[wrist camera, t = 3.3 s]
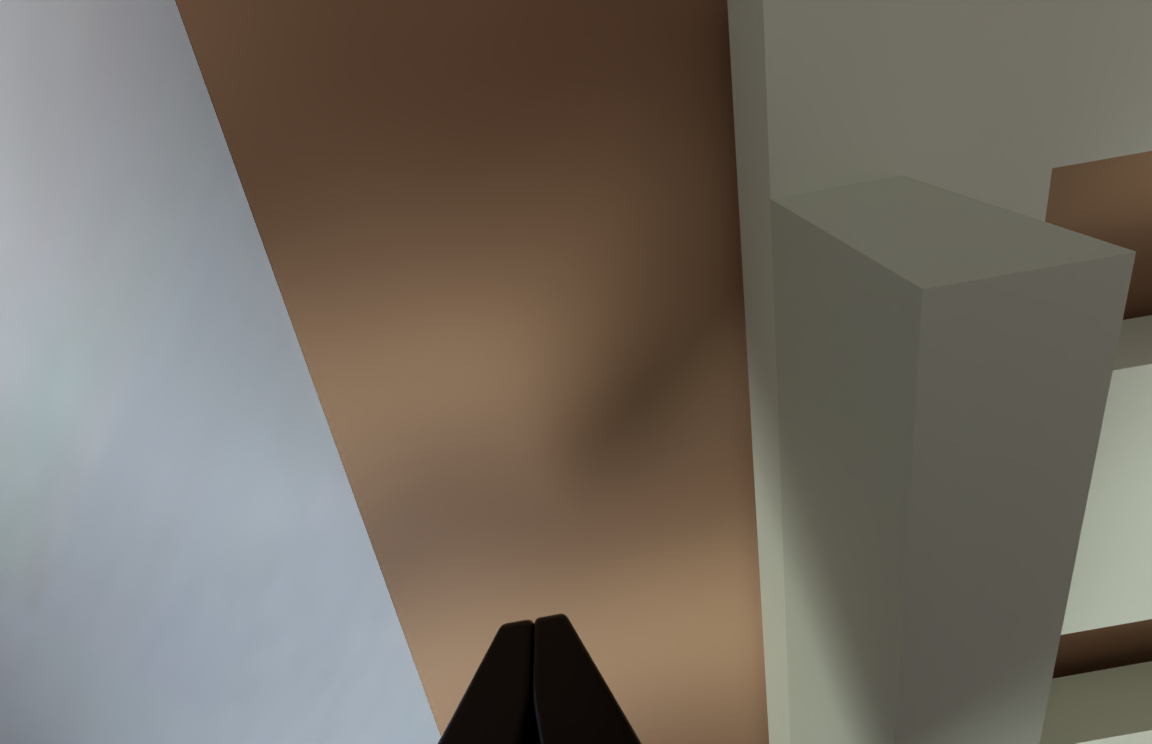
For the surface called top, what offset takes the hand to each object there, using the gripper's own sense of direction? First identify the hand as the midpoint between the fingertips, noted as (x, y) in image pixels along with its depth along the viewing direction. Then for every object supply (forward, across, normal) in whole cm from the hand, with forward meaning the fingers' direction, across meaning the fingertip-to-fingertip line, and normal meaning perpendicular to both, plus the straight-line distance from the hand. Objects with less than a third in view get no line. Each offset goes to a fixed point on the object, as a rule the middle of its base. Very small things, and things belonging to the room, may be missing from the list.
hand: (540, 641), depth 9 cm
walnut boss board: (+3, -10, 0) cm, 11 cm away
